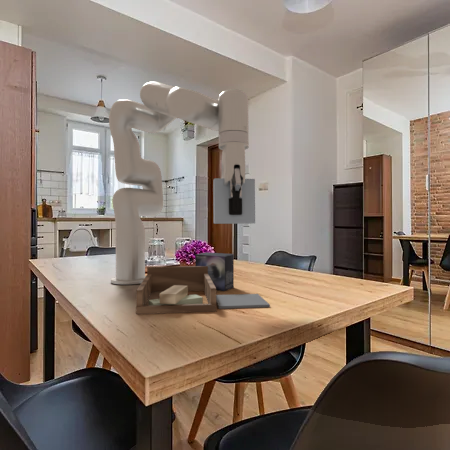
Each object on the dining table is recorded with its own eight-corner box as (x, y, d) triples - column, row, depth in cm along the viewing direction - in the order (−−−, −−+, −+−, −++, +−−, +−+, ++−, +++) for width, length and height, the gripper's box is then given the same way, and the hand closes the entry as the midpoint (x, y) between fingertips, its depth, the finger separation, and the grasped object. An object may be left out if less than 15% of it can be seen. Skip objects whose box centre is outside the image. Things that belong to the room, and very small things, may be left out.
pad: (213, 297, 86) (213, 295, 86) (257, 296, 88) (257, 293, 88) (218, 308, 74) (218, 306, 74) (269, 307, 76) (269, 304, 76)
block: (213, 223, 83) (213, 180, 83) (252, 223, 84) (251, 180, 84) (214, 223, 79) (214, 178, 79) (255, 223, 80) (254, 178, 80)
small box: (193, 288, 99) (193, 253, 99) (205, 284, 105) (205, 252, 105) (224, 291, 94) (224, 255, 94) (234, 287, 100) (234, 253, 100)
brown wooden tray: (147, 291, 94) (147, 266, 94) (207, 289, 97) (207, 266, 97) (136, 314, 70) (136, 281, 70) (216, 311, 72) (216, 279, 72)
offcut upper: (159, 303, 72) (159, 293, 72) (174, 293, 82) (174, 285, 82) (175, 304, 71) (175, 294, 71) (187, 294, 81) (187, 285, 81)
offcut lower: (148, 310, 75) (148, 300, 75) (195, 304, 81) (195, 294, 81) (153, 314, 72) (153, 303, 72) (202, 307, 78) (202, 297, 78)
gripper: (215, 149, 89) (216, 216, 89) (222, 132, 73) (223, 213, 73) (242, 150, 90) (243, 216, 90) (255, 132, 74) (256, 213, 74)
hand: (234, 214), depth 81 cm, fingers closed on block, 3 cm apart
